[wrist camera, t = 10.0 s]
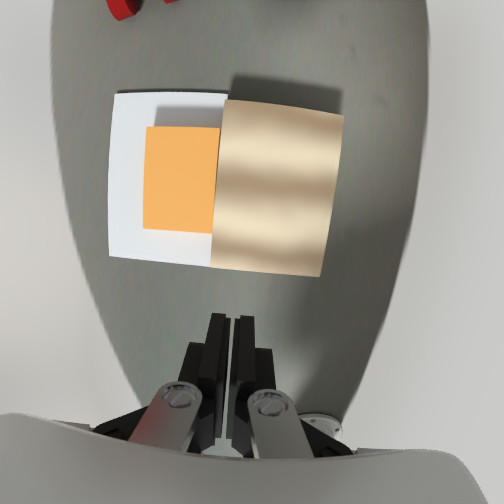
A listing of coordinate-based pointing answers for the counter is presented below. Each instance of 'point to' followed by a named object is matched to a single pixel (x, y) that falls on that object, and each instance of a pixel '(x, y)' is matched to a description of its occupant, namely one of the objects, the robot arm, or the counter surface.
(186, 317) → the counter surface
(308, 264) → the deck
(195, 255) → the mat
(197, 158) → the slab
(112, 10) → the mechanical linkage
